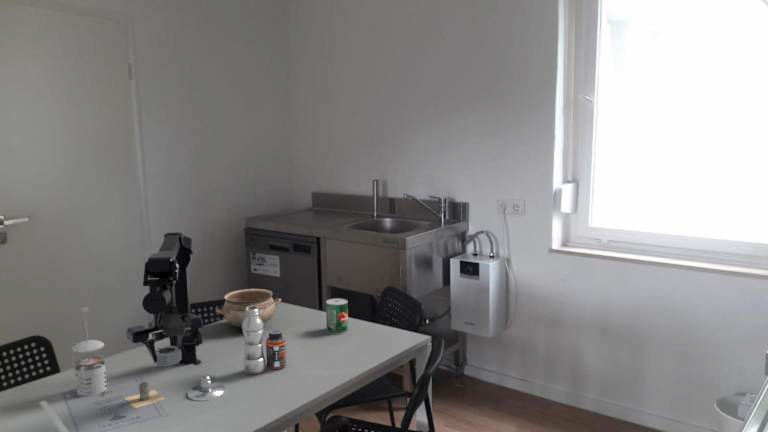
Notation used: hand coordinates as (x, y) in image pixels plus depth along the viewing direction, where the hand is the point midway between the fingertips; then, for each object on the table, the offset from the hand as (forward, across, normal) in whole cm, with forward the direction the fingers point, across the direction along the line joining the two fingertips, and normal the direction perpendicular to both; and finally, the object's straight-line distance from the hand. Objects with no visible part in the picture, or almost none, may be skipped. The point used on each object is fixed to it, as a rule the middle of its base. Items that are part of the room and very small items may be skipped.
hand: (167, 358), depth 161 cm
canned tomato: (+12, +67, +14) cm, 70 cm away
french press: (+12, -15, +20) cm, 28 cm away
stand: (+12, -6, +3) cm, 14 cm away
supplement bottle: (+12, +33, 0) cm, 35 cm away
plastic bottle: (+12, +26, +1) cm, 29 cm away
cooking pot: (+12, +45, +40) cm, 61 cm away
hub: (+12, +8, -4) cm, 15 cm away
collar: (+1, 0, 0) cm, 1 cm away
